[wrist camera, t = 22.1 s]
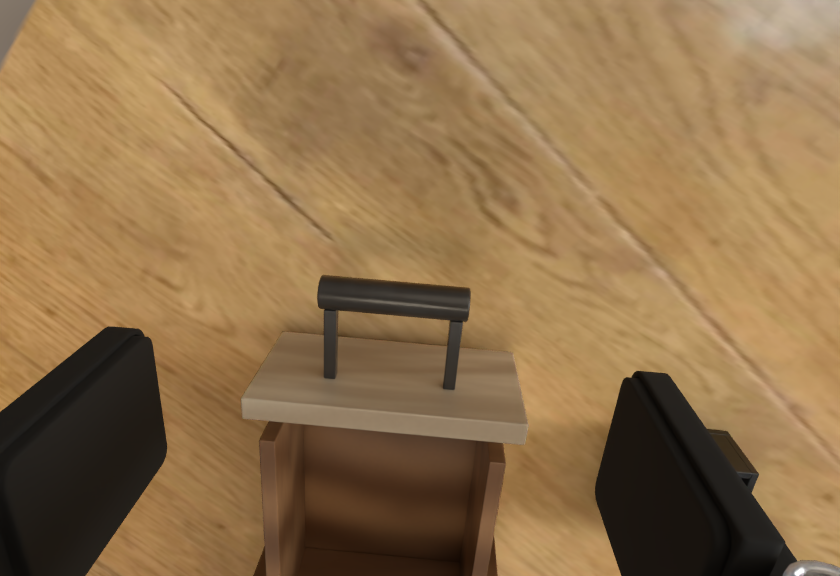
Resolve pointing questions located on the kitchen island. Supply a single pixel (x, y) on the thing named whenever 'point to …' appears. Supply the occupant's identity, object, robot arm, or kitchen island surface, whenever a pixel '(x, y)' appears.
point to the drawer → (383, 440)
